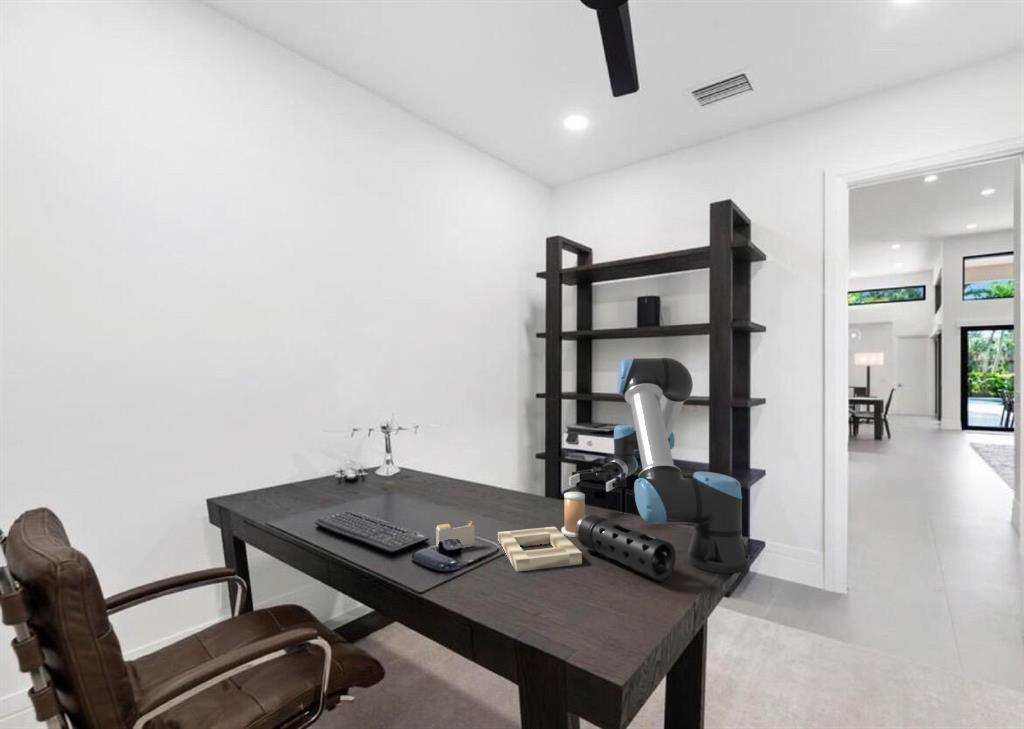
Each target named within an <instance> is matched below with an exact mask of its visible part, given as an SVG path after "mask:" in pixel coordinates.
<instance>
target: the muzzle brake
mask: <svg viewBox="0 0 1024 729" xmlns="http://www.w3.org/2000/svg"><path fill="white" fill-rule="evenodd" d="M575 535H576V538H575V539H576V540H577V542H579V543H580V545H581V547H583V548H584V549H587V550H590V551H591V552H592V553H593V552H594V553H598V556H599V557H601V556H602V557H601V558H604V559H606V560H610V559H612V560H613V561H617V562H618V563H621V564H623V565H624V567H625V568H629V569H631V570H633V571H634V572H636V573H639V574H641V575H643V576H646V577H648V578H650V579H652V580H654V581H657V582H659V583H663V582H664V581H665V580H666V579H667V578H669V576H670V575H671V574H672V572H673V570H674V569H675V568H674V567H675V566H676V558H677V557H676V550H675V547H674V546H673V545H672V543H671V542H668V541H665V540H663V539H660V538H658V537H654V536H652V535H649V534H647V533H644V532H641V531H638V530H635V529H633V528H630V527H627V526H625V525H622V524H618V523H616V522H613V521H610V520H608V519H607V518H605V517H603V516H600V515H596V514H585V516H583V517H582V518H581V519H580V520H579V521H578V523H577V525H576V529H575ZM661 565H662V566H661Z"/></svg>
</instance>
